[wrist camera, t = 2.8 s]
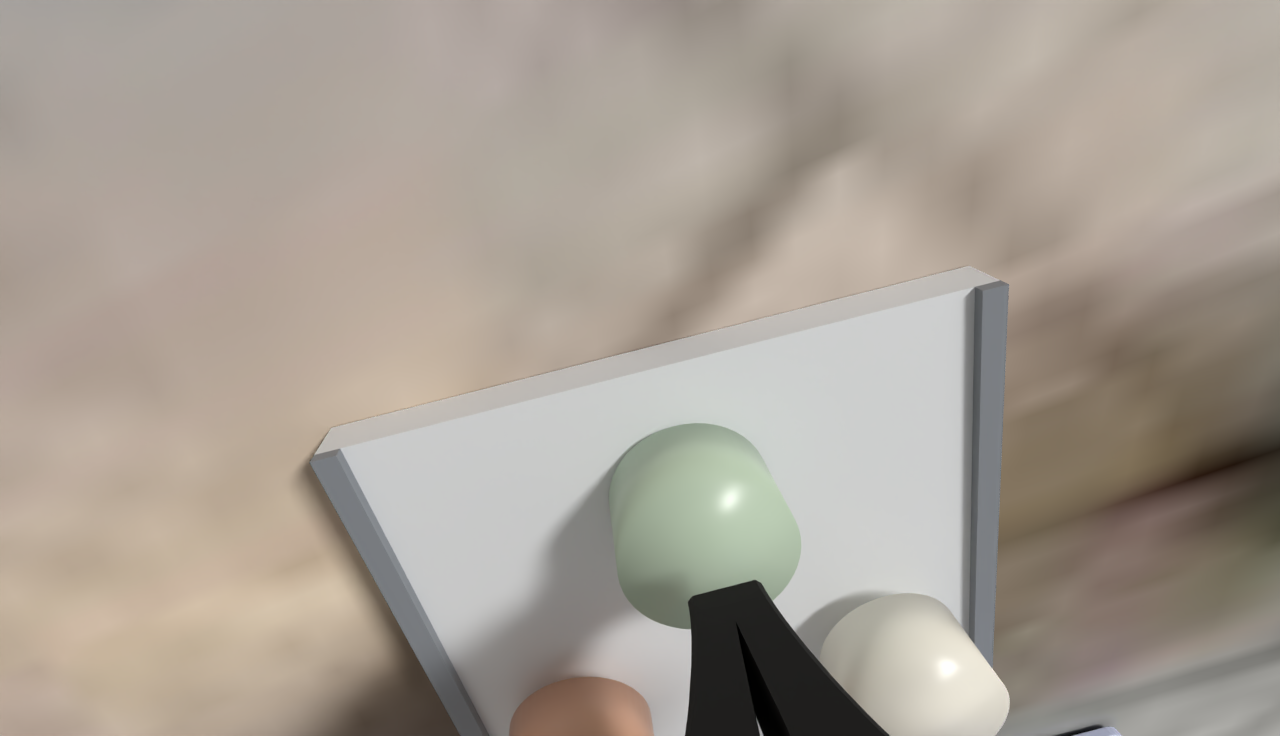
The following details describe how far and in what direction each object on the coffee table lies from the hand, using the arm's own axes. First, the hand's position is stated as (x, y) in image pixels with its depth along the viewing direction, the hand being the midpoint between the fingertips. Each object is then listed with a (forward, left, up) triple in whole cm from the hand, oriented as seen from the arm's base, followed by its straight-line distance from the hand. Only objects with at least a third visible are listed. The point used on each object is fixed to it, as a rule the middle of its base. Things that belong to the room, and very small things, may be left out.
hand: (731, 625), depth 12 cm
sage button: (0, 0, -4) cm, 4 cm away
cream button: (-6, -5, -4) cm, 9 cm away
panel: (-3, 0, -6) cm, 6 cm away
